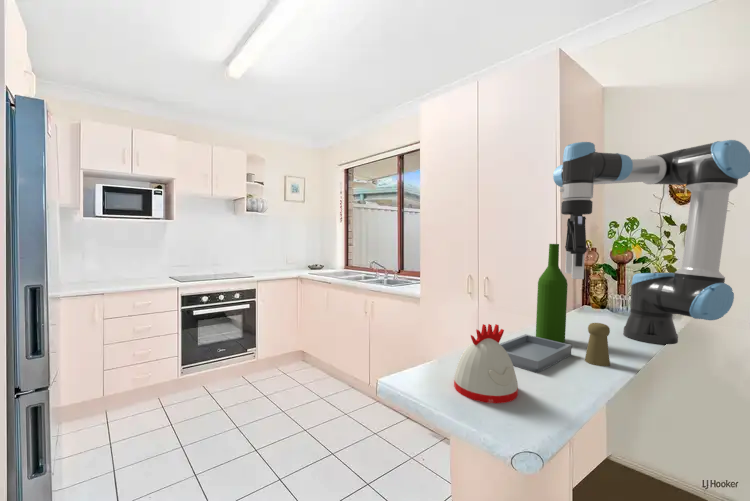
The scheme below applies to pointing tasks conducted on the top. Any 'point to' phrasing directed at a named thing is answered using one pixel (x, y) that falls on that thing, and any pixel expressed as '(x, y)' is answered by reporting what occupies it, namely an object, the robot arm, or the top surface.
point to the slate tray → (535, 352)
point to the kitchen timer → (486, 369)
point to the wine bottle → (552, 300)
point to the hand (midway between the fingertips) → (573, 276)
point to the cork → (598, 345)
